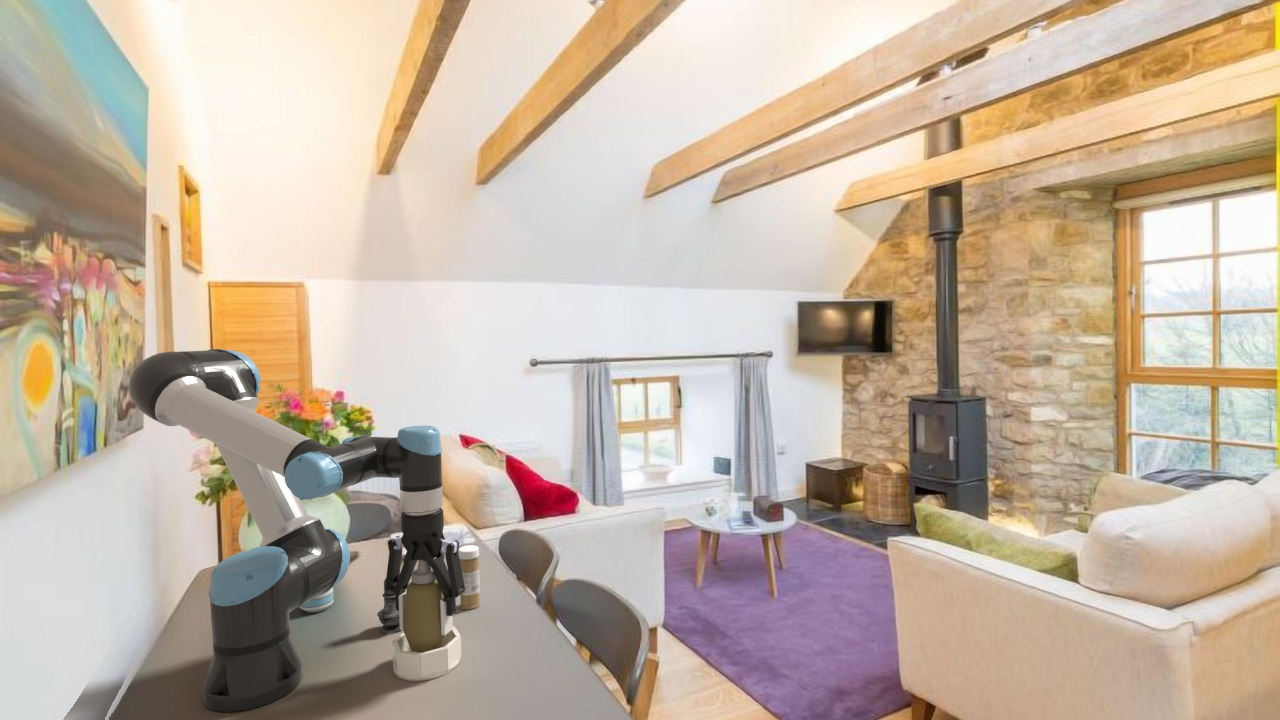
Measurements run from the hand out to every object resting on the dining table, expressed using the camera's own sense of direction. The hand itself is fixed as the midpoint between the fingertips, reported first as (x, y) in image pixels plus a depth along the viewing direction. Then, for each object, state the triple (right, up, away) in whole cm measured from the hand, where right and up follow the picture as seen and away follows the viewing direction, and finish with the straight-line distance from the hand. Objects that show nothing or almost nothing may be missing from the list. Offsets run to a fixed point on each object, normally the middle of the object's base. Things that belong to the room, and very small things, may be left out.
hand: (426, 629), depth 121 cm
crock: (0, -7, 0) cm, 7 cm away
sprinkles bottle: (+2, -6, +25) cm, 26 cm away
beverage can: (-33, -6, +26) cm, 43 cm away
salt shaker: (-12, -6, +15) cm, 20 cm away
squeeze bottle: (0, -3, 0) cm, 3 cm away
